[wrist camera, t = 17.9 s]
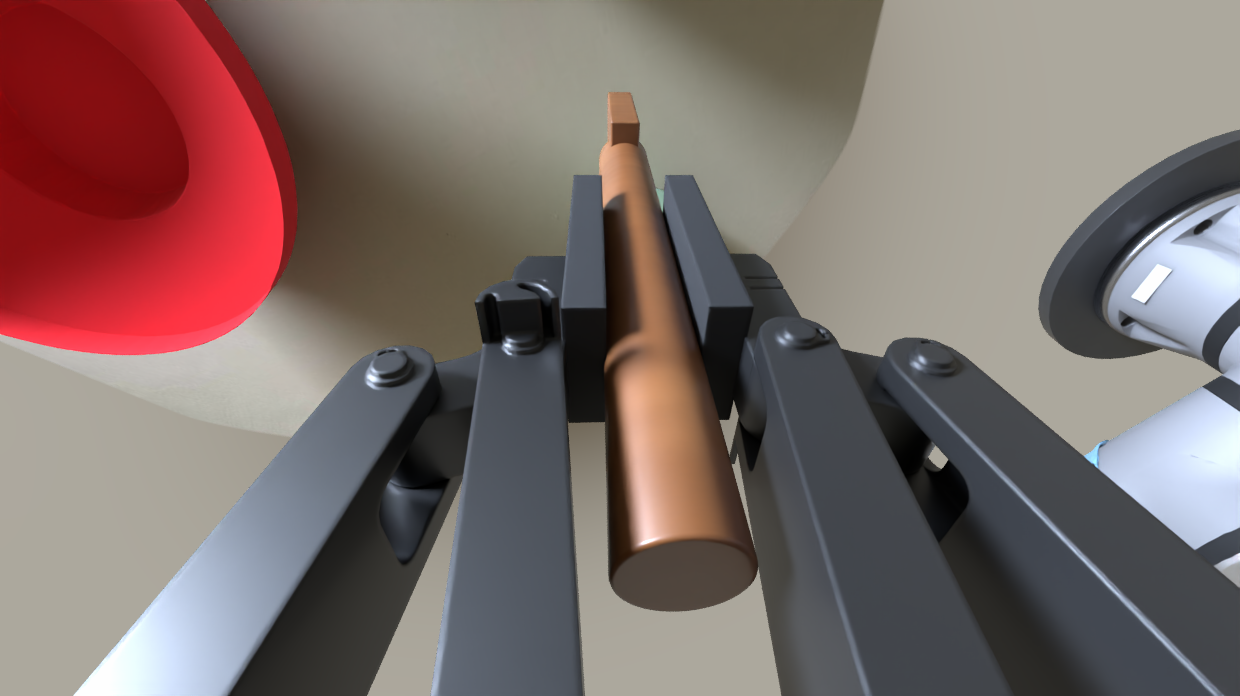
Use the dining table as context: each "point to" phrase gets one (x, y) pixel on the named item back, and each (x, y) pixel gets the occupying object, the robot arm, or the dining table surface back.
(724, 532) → the stick
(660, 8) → the dining table surface
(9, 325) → the bowl
